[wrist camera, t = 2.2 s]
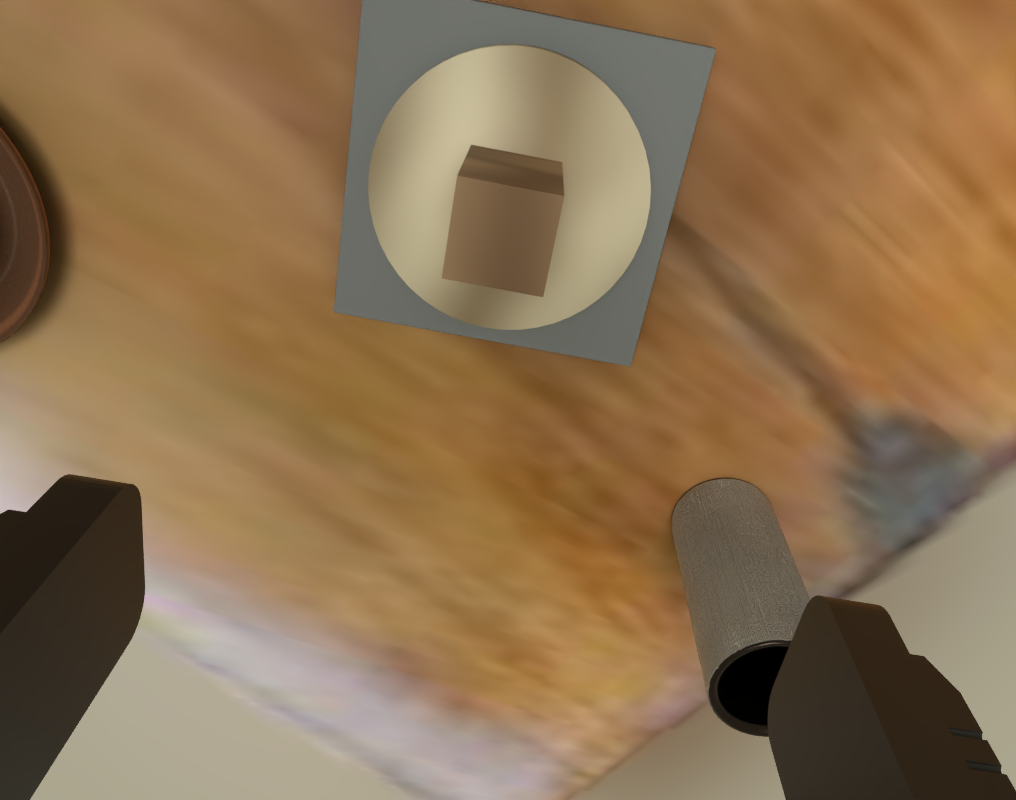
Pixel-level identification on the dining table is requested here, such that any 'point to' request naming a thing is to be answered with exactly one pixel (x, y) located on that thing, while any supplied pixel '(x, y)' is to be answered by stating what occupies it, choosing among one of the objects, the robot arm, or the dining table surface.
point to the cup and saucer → (20, 240)
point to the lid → (509, 187)
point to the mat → (604, 50)
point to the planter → (737, 596)
